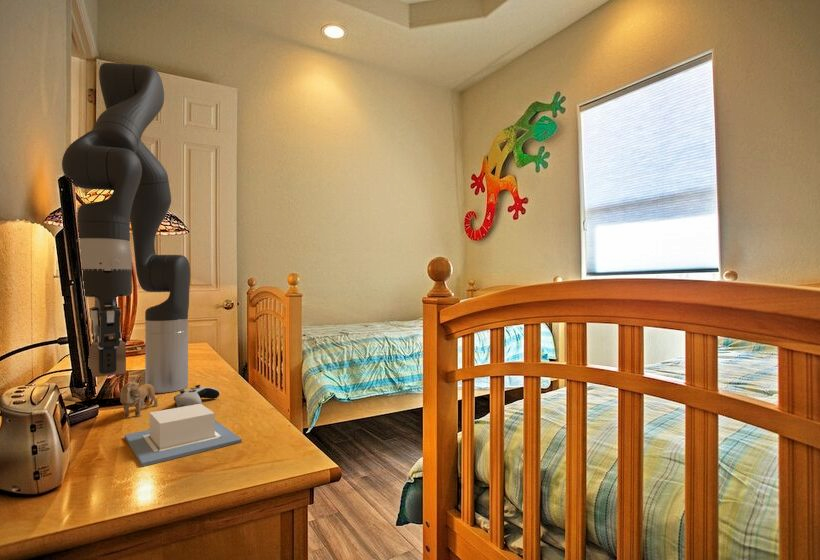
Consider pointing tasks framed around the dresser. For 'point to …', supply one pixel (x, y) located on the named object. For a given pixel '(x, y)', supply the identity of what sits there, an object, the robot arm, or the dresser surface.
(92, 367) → the walnut cube
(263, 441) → the dresser surface
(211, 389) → the game controller
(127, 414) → the lion figurine
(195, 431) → the base slab
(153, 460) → the board
